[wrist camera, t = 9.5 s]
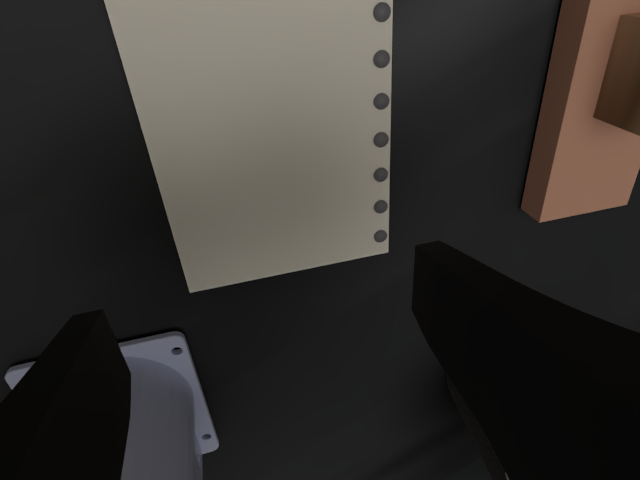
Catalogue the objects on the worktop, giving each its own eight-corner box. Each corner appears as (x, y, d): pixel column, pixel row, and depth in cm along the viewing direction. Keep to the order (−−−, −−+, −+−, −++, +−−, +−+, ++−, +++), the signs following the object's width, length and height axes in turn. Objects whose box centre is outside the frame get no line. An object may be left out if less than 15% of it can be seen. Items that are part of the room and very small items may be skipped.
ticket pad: (376, 235, 22) (389, 253, 21) (189, 272, 20) (189, 294, 19) (377, -134, 14) (396, -143, 13) (78, -118, 13) (66, -127, 12)
